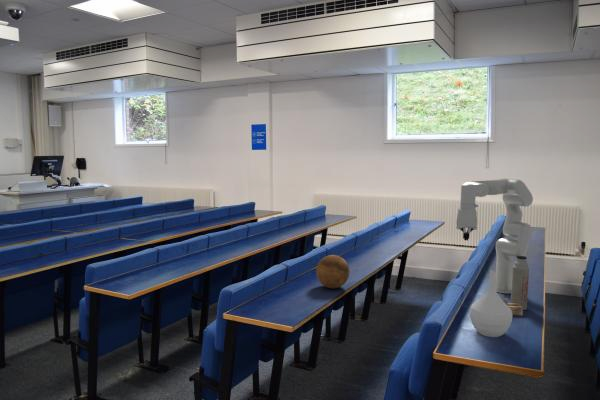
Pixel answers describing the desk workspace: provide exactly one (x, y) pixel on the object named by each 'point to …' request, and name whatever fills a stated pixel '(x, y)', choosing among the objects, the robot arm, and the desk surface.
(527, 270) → the thermos bottle
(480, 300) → the vase
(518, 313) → the rail
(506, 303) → the block
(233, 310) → the desk surface
